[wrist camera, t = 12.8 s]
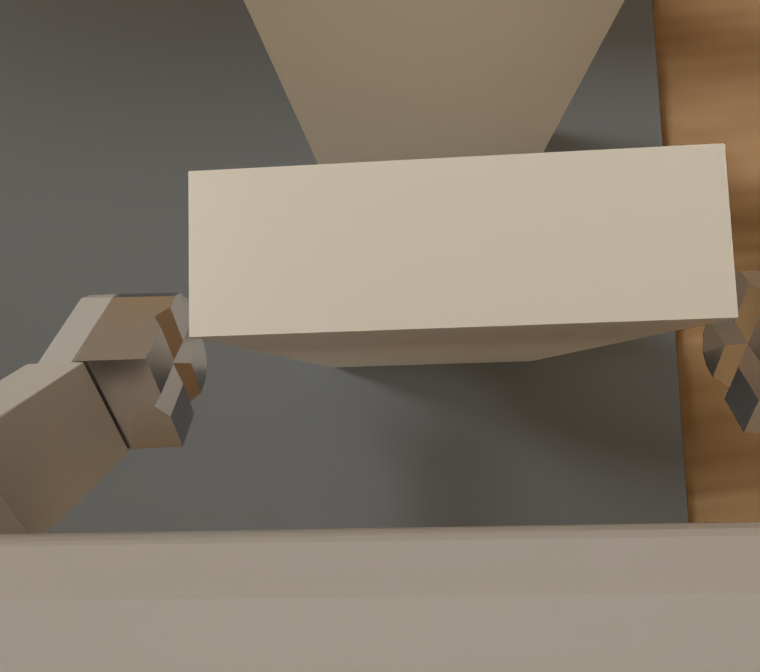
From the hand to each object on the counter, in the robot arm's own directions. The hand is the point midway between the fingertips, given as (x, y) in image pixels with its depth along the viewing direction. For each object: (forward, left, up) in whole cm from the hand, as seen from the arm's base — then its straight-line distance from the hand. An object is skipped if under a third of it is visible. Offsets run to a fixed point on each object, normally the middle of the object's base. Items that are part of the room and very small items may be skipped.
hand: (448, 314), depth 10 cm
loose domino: (0, 0, -6) cm, 6 cm away
